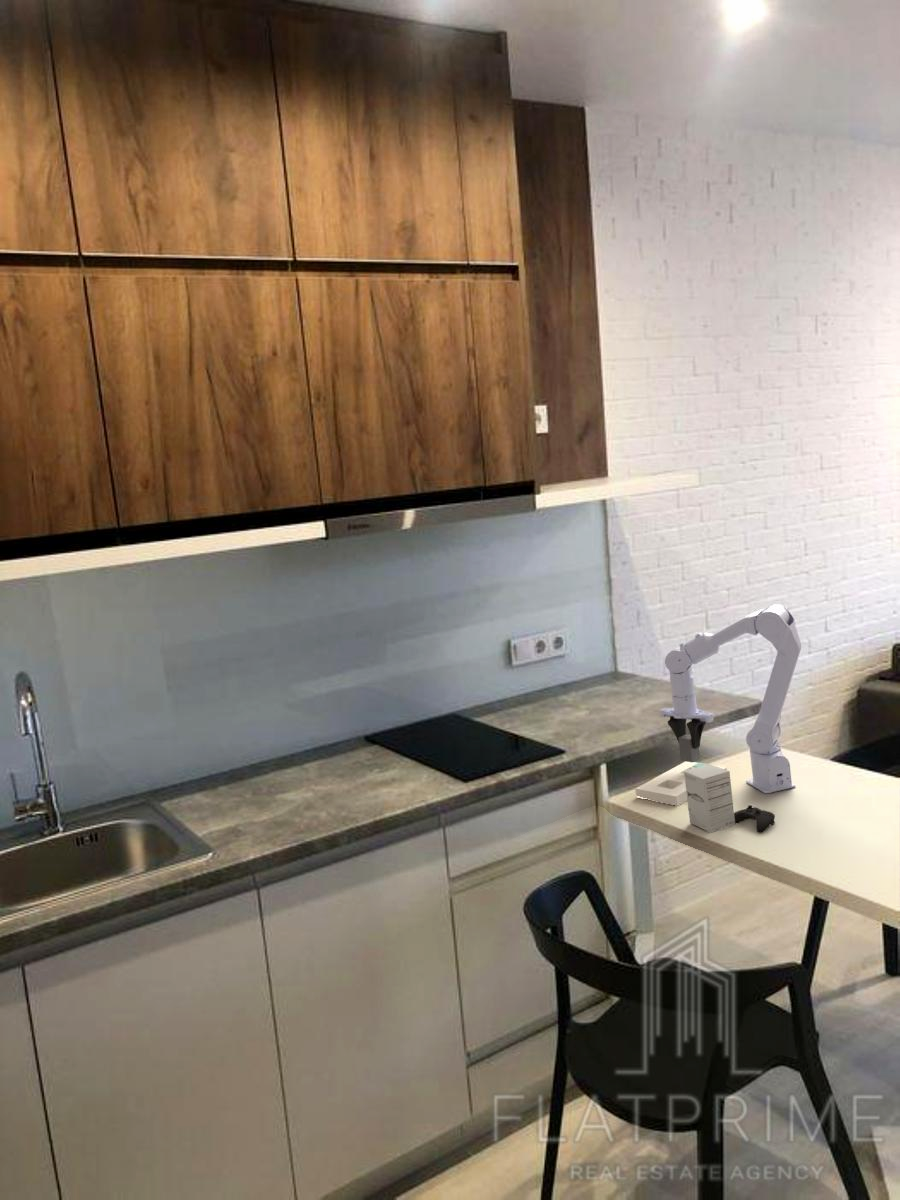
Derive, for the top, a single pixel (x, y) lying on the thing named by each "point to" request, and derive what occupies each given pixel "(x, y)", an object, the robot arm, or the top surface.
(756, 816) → the game controller
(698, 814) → the supplement box
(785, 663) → the robot arm
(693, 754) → the plug
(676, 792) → the panel
